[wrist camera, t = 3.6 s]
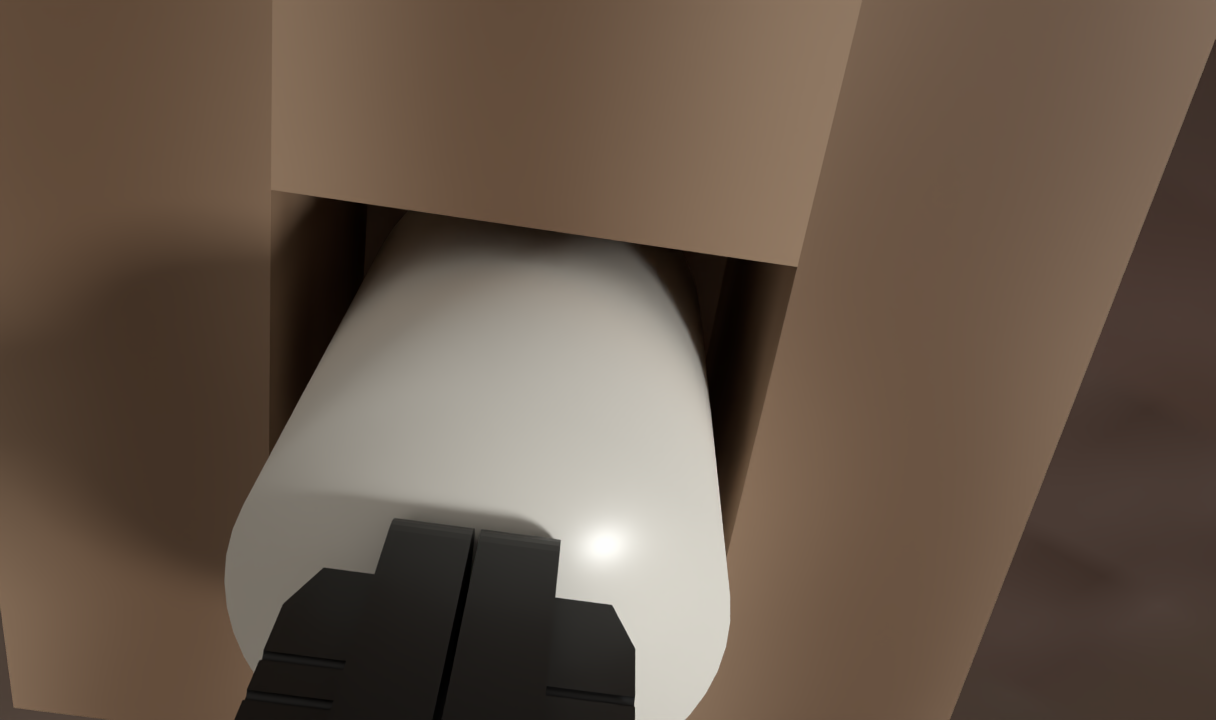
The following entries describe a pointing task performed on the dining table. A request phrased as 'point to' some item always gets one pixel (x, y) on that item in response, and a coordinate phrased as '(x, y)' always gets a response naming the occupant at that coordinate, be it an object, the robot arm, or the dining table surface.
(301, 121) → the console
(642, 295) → the white egg
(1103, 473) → the dining table surface
